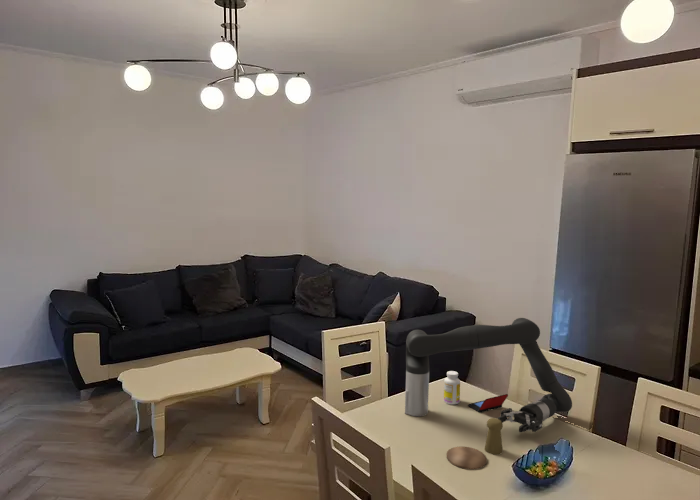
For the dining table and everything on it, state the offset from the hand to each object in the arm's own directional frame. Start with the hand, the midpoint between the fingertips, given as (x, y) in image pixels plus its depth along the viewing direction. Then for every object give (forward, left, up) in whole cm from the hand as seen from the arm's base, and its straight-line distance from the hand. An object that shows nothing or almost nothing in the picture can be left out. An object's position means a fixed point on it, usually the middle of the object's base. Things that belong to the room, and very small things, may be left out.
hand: (509, 425), depth 176 cm
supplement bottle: (-17, +33, -7) cm, 37 cm away
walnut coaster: (-16, -13, -6) cm, 22 cm away
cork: (-6, -6, -7) cm, 11 cm away
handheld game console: (-3, +28, -7) cm, 29 cm away
